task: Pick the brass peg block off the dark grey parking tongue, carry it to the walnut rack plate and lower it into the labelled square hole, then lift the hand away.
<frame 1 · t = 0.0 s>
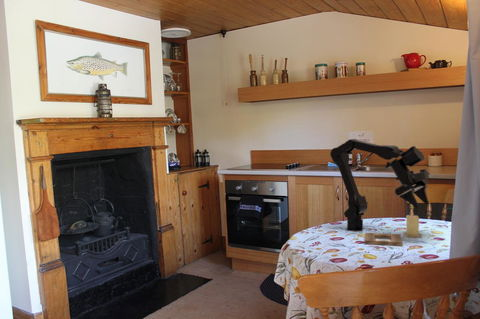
hand: (422, 205, 165), 15 cm above the table, fingers open, 9 cm apart
peg block: (412, 235, 172), point 1 cm above the table, touching parking tongue
rack plate: (382, 243, 165), on the table
parking tongue: (412, 237, 172), on the table
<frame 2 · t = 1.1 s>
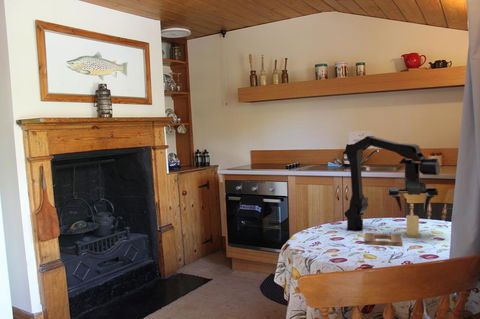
hand: (412, 211, 171), 11 cm above the table, fingers open, 9 cm apart
nothing on the table moved.
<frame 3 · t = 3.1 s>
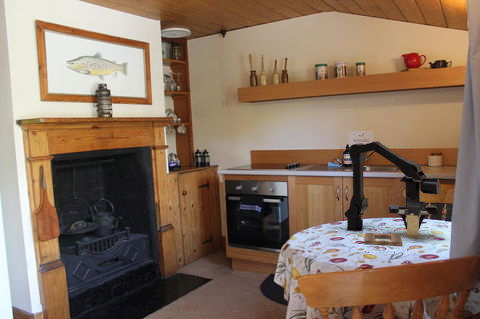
hand: (412, 229, 172), 4 cm above the table, fingers closed on peg block, 4 cm apart
peg block: (412, 235, 172), point 1 cm above the table, touching gripper, parking tongue
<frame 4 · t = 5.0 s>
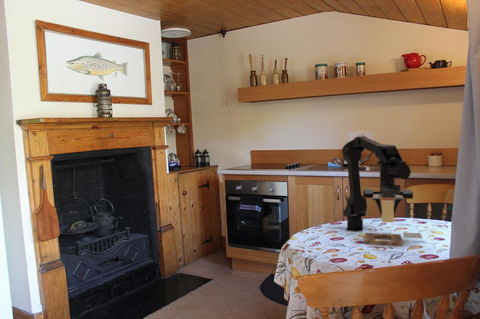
hand: (387, 214, 165), 11 cm above the table, fingers closed on peg block, 4 cm apart
peg block: (387, 220, 165), point 9 cm above the table, touching gripper
when the fingers open (4 cm above the table, at t = 7.3 s): peg block drops 2 cm, resting in rack plate.
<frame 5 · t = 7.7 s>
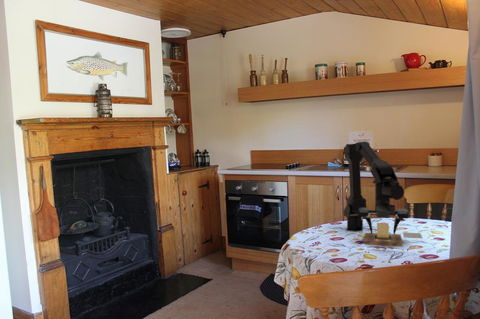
hand: (382, 233, 165), 4 cm above the table, fingers open, 8 cm apart
peg block: (382, 243, 165), resting in rack plate
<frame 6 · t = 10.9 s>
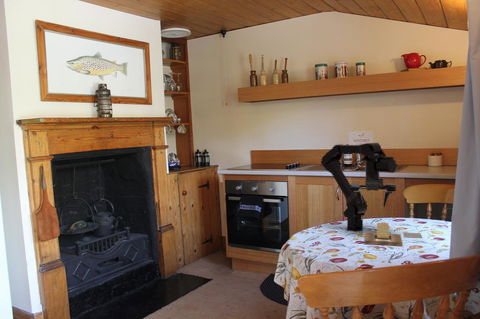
hand: (372, 206, 179), 12 cm above the table, fingers open, 9 cm apart
nothing on the table moved.
at the end: peg block 0.0 cm off-centre on the rack plate, point 0.0 cm above the rack plate's base; peg block tilted 0°; the gripper is holding nothing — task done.
